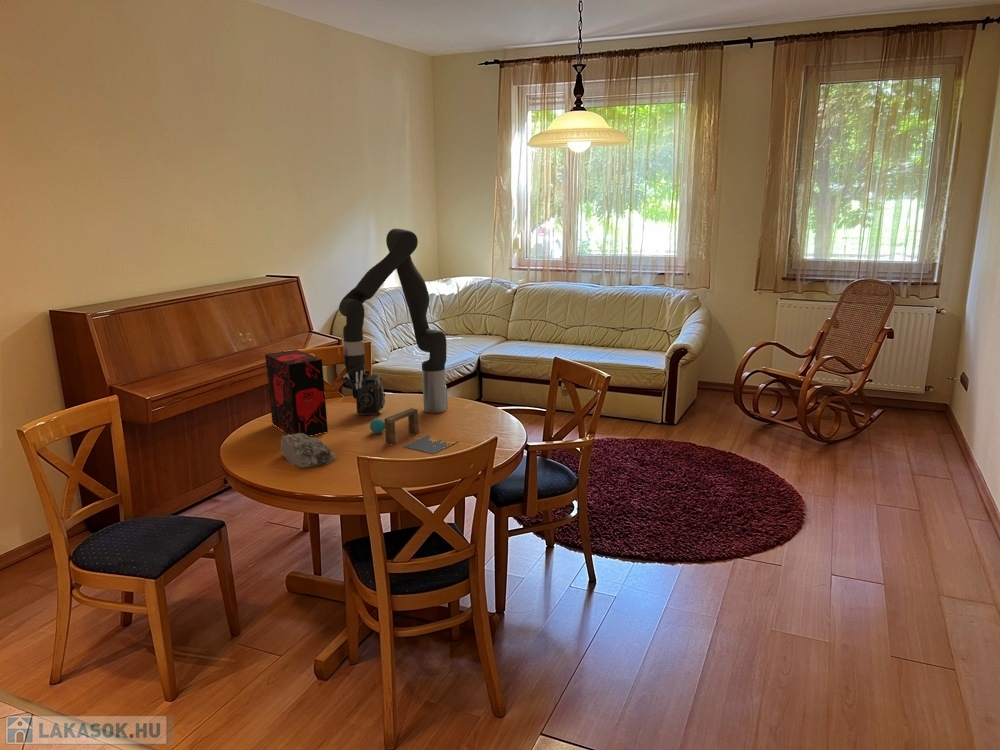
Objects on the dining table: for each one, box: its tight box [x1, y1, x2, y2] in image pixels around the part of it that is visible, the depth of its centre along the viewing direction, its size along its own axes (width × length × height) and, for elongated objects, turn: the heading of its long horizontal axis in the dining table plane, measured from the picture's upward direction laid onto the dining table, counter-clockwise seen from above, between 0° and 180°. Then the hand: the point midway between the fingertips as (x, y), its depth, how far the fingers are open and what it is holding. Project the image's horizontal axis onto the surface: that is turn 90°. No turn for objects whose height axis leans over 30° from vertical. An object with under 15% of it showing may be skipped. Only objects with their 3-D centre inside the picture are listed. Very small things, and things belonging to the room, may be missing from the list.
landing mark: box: [402, 434, 451, 455], centre depth 244 cm, size 14×14×1 cm
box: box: [264, 349, 329, 437], centre depth 261 cm, size 23×12×28 cm, turn 38°
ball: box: [369, 417, 385, 434], centre depth 257 cm, size 6×6×6 cm
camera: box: [355, 374, 386, 416], centre depth 281 cm, size 10×11×15 cm
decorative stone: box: [280, 433, 336, 469], centre depth 232 cm, size 20×14×10 cm
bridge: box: [383, 407, 420, 446], centre depth 250 cm, size 3×15×9 cm, turn 147°
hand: (357, 398), depth 259 cm, fingers closed
